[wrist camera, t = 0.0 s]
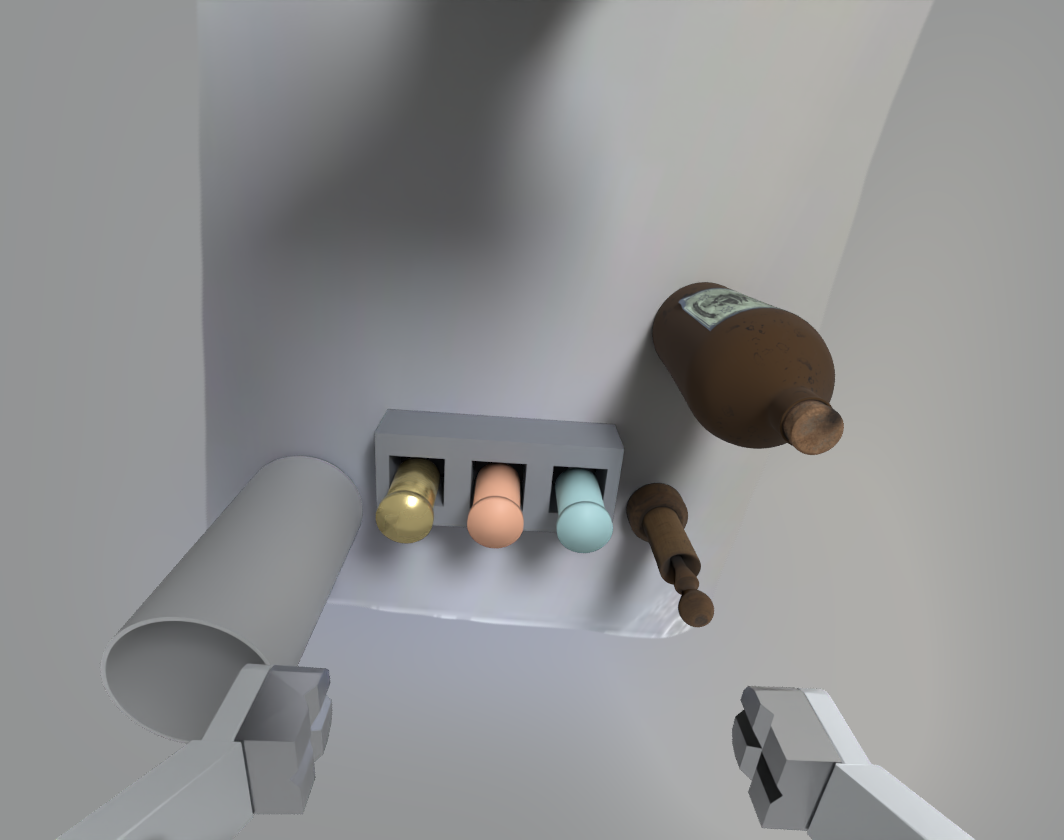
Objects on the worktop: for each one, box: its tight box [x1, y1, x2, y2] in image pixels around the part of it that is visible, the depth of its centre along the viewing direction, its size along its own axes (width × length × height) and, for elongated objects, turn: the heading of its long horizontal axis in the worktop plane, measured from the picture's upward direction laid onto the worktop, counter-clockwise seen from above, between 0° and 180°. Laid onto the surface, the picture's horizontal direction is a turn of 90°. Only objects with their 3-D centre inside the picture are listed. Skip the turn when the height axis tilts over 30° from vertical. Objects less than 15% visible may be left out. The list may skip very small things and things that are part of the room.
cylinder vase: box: [100, 456, 363, 744], centre depth 53 cm, size 12×12×25 cm
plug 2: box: [467, 462, 524, 548], centre depth 55 cm, size 5×5×8 cm
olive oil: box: [653, 282, 844, 455], centre depth 46 cm, size 11×11×25 cm
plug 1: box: [376, 457, 440, 543], centre depth 54 cm, size 5×5×8 cm
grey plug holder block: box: [375, 409, 624, 532], centre depth 60 cm, size 10×24×6 cm, turn 85°
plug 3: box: [555, 467, 613, 553], centre depth 55 cm, size 5×5×8 cm
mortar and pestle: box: [626, 483, 714, 627], centre depth 58 cm, size 7×6×18 cm
